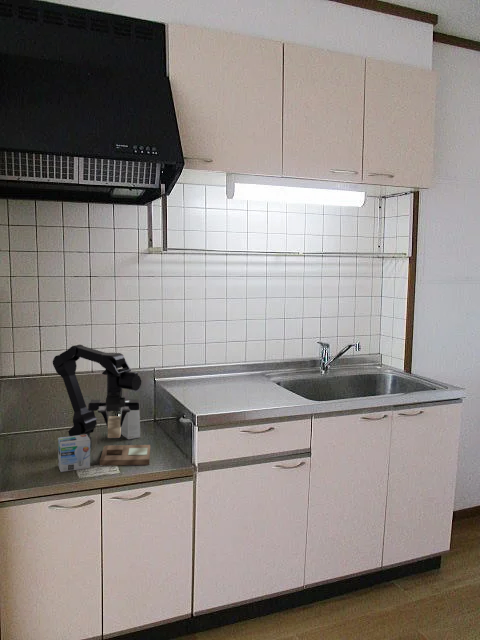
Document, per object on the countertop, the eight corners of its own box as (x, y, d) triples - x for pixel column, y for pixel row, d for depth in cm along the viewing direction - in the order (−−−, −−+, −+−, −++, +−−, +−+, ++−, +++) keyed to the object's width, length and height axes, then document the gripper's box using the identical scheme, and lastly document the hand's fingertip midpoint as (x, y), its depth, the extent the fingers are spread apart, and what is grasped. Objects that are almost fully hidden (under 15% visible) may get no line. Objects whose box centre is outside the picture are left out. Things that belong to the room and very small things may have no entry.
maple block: (107, 437, 197) (107, 420, 196) (108, 433, 201) (109, 416, 200) (119, 437, 197) (120, 419, 197) (120, 433, 202) (121, 416, 201)
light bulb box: (60, 472, 185) (60, 443, 184) (57, 465, 191) (57, 437, 190) (91, 468, 190) (91, 439, 189) (87, 461, 196) (87, 433, 195)
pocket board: (99, 465, 192) (99, 459, 192) (104, 450, 207) (104, 444, 207) (149, 464, 195) (149, 458, 195) (150, 449, 210) (150, 444, 209)
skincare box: (140, 437, 223) (140, 403, 221) (127, 440, 219) (127, 405, 218) (132, 431, 230) (133, 399, 228) (119, 434, 226) (120, 400, 225)
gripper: (86, 392, 188) (86, 434, 190) (138, 392, 190) (138, 433, 192) (90, 384, 199) (90, 424, 200) (140, 384, 201) (139, 423, 203)
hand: (114, 426), depth 199 cm, fingers closed on maple block, 4 cm apart
